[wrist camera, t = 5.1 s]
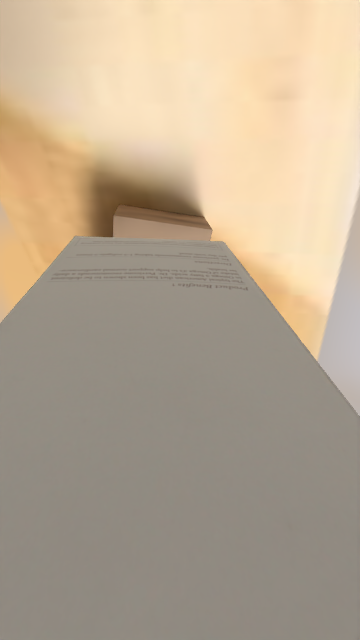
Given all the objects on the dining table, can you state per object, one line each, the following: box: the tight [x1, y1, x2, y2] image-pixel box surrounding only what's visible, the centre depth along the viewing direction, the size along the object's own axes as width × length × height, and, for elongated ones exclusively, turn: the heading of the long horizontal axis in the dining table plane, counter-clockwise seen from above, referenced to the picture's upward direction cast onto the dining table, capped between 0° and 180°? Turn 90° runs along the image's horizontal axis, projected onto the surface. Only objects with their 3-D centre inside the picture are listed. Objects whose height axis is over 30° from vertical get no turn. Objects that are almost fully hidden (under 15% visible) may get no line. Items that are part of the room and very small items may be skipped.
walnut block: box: [113, 204, 212, 241], centre depth 28 cm, size 9×9×5 cm
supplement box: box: [0, 236, 360, 640], centre depth 9 cm, size 7×7×13 cm
